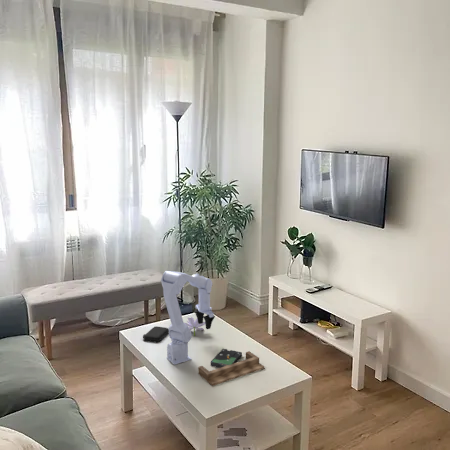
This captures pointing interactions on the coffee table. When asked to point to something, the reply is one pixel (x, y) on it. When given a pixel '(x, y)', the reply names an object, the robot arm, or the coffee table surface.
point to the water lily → (194, 324)
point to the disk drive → (226, 358)
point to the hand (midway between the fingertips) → (204, 326)
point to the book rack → (231, 370)
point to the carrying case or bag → (155, 334)
